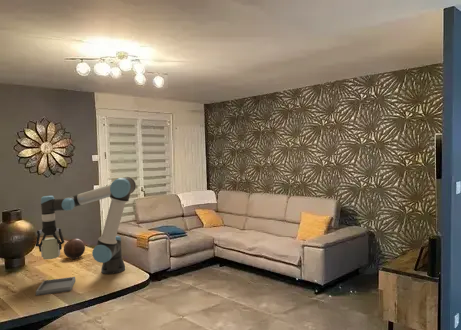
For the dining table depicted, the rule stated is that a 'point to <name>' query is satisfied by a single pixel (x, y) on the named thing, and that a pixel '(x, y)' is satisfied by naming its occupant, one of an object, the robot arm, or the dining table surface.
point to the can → (50, 248)
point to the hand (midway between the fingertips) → (51, 255)
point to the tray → (55, 286)
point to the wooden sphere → (74, 248)
